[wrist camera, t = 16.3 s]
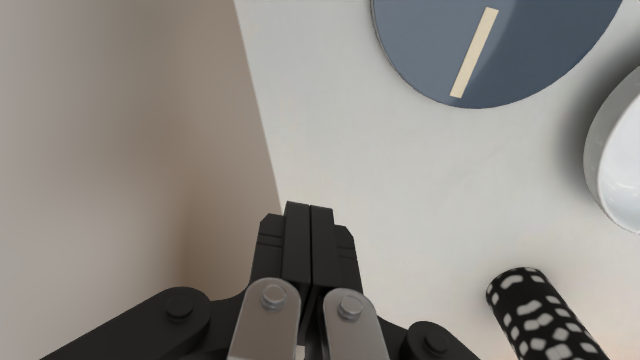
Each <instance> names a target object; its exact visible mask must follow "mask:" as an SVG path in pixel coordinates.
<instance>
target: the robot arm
mask: <svg viewBox="0 0 640 360" xmlns="http://www.w3.org/2000/svg"><path fill="white" fill-rule="evenodd" d="M297 345H300V346H305V358H304V360H480V359H479V358H478V357H477V356H476V355H475V354H474V353H472V352H471V351H470V350H469V349H468V348H467V347H466V346H465V345H463V344H462V343H461V342H460V341H459V340H458V339H457V338H456V337H454V336H453V335H452V334H451V333H450V332H449V331H447V330H446V329H445V328H443V327H442V326H440V325H438V324H435V323H432V322H428V321H419V322H415V323H414V324H412V325H411V326H410V328H409V329H408V330H407V329H404V328H402V327H399V326H397V325H395V324H392V323H390V322H388V321H386V320H384V319H382V318H381V317H379V316H378V315H377V314H376V310H375V308H374V306H373V304H372V303H371V302H370V300H369V299H368V298H367V297H365V296H364V294H363V289H362V283H361V278H360V272H359V266H358V261H357V255H356V251H355V244H354V239H353V236H352V235H351V233H350V232H349V231H348V229H347V228H346V226H341V225H335V224H334V217H333V210H332V209H331V208H325V207H319V206H314V205H310V206H309V205H308V204H302V203H296V202H291V201H287V203H286V206H285V211H284V215H283V216H282V215H276V214H270V213H269V214H268V215H267V216H266V217H265V218H264V219H263V220H262V221H261V222H260V227H259V232H258V237H257V242H256V247H255V253H254V258H253V263H252V269H251V275H250V280H249V284H248V286H247V287H246V288H245V290H243V291H242V292H241V293H240V294H238V295H236V296H234V297H231V298H228V299H223V300H216V301H210V300H209V299H208V297H207V296H206V295H205V294H204V293H202V292H201V291H199V290H197V289H194V288H190V287H174V288H169V289H166V290H164V291H162V292H160V293H158V294H156V295H154V296H153V297H151V298H149V299H147V300H145V301H144V302H142V303H140V304H138V305H137V306H135V307H133V308H131V309H129V310H127V311H126V312H124V313H122V314H120V315H119V316H117V317H115V318H113V319H111V320H110V321H108V322H106V323H104V324H102V325H101V326H99V327H97V328H96V329H94V330H92V331H90V332H88V333H86V334H84V335H83V336H81V337H79V338H77V339H76V340H74V341H72V342H70V343H68V344H67V345H65V346H63V347H61V348H59V349H58V350H56V351H54V352H52V353H50V354H49V355H47V356H45V357H43V358H42V359H40V360H295V355H296V346H297Z"/></svg>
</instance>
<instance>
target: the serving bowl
mask: <svg viewBox="0 0 640 360" xmlns="http://www.w3.org/2000/svg"><path fill="white" fill-rule="evenodd" d="M583 167H584V174H585V179H586V182H587V185H588V188H589V190H590V192H591V194H592V196H593V198H594V200H595V201H596V202H597V204H598V205H599V207H600V208H601V209H602V210H603V211H604V213H605V214H606V215H607V216H608V217H609V218H610V219H611V220H612V221H613V222H614V223H615V224H617V225H618V226H620V227H621V228H623V229H625V230H627V231H630V232H632V233H635V234H639V235H640V66H638V67H637V68H636V69H635V70H633V71H632V72H631V73H630V74H629V75H628V76H627V77H626V78H624V79H623V80H622V81H621V83H620V84H619V85H618V86H617V87H616V88H615V89H614V90H613V91H612V92H611V94H610V95H609V96H608V97H607V99H606V100H605V101H604V103H603V104H602V106H601V107H600V109H599V111H598V112H597V114H596V116H595V118H594V120H593V122H592V124H591V126H590V129H589V131H588V134H587V138H586V142H585V147H584V155H583Z"/></svg>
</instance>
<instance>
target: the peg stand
mask: <svg viewBox="0 0 640 360" xmlns="http://www.w3.org/2000/svg"><path fill="white" fill-rule="evenodd" d="M622 1H623V0H371V10H372V17H373V23H374V26H375V30H376V34H377V37H378V40H379V42H380V44H381V47H382V49H383V51H384V53H385V55H386V56H387V58H388V60H389V61H390V63H391V65H392V66H393V67H394V68H395V70H396V71H397V72H398V73H399V74H400V76H401V77H402V78H403V79H404V80H405V81H406V82H407V83H408V84H410V85H411V86H412V87H413V88H414V89H416V90H417V91H418V92H420V93H421V94H423V95H424V96H426V97H428V98H430V99H432V100H434V101H436V102H439V103H442V104H446V105H449V106H453V107H459V108H469V109H482V108H492V107H497V106H502V105H507V104H510V103H513V102H516V101H519V100H522V99H524V98H527V97H529V96H531V95H533V94H535V93H537V92H539V91H541V90H543V89H544V88H546V87H548V86H549V85H551V84H553V83H554V82H555V81H557V80H558V79H559V78H561V77H562V76H563V75H565V74H566V73H567V72H568V71H570V70H571V69H572V68H573V67H574V66H575V65H576V64H577V63H579V62H580V61H581V60H582V58H583V57H584V56H585V55H586V54H587V53H588V52H589V51H590V50H591V49H592V48H593V46H594V45H595V44H596V43H597V41H598V40H599V39H600V37H601V36H602V35H603V33H604V32H605V30H606V29H607V27H608V26H609V24H610V23H611V21H612V19H613V18H614V16H615V14H616V12H617V10H618V8H619V6H620V4H621V3H622Z"/></svg>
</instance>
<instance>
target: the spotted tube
mask: <svg viewBox="0 0 640 360" xmlns="http://www.w3.org/2000/svg"><path fill="white" fill-rule="evenodd" d="M486 300H487V302H488V304H489V306H490V308H491V310H492V311H493V313H494V315H495V317H496V319H497V321H498V322H499V324H500V326H501V328H502V330H503V332H504V333H505V335H506V337H507V339H508V341H509V343H510V345H511V346H512V348H513V350H514V352H515V354H516V356H517V357H518V359H519V360H610V359H609V358H608V357H607V355H606V354H605V353H604V351H603V350H602V349H601V348H600V346H599V345H598V344H597V342H596V341H595V340H594V339H593V337H592V336H591V335H590V333H589V332H588V331H587V330H586V328H585V327H584V326H583V324H582V323H581V322H580V320H579V319H578V318H577V317H576V315H575V314H574V313H573V311H572V310H571V309H570V308H569V306H568V305H567V304H566V302H565V301H564V300H563V299H562V297H561V296H560V295H559V293H558V292H557V291H556V290H555V288H554V287H553V286H552V284H551V283H550V282H549V281H548V279H547V278H546V277H545V275H544V274H543V273H542V272H540V271H539V270H536V269H533V268H517V269H513V270H510V271H507V272H505V273H503V274H501V275H500V276H498V277H497V278H496V279H494V280H493V282H492V283H491V284H490V285H489V287H488V289H487V291H486Z"/></svg>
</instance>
